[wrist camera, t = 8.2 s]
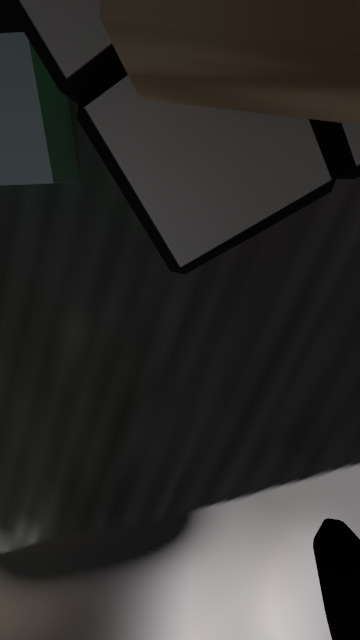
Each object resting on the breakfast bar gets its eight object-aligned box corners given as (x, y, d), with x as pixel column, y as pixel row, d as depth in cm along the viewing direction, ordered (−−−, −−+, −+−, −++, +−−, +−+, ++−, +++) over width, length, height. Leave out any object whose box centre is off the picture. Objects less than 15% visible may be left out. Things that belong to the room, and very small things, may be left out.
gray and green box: (-13, 186, 18) (-64, 187, 14) (-41, 72, 16) (-110, 39, 12) (80, 182, 17) (53, 182, 14) (64, 67, 15) (27, 32, 12)
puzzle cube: (352, 127, 16) (571, 59, 7) (178, 232, 18) (176, 285, 9) (266, -123, 13) (472, -852, 4) (66, 39, 15) (-113, -181, 6)
